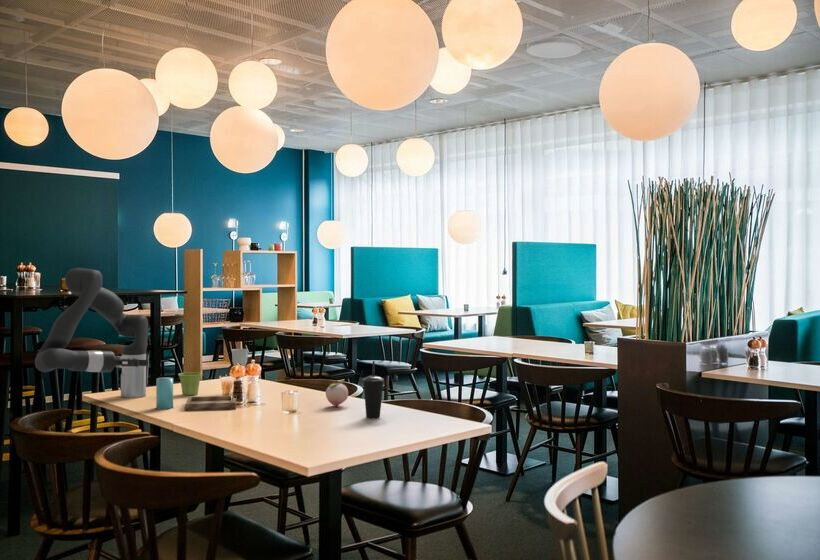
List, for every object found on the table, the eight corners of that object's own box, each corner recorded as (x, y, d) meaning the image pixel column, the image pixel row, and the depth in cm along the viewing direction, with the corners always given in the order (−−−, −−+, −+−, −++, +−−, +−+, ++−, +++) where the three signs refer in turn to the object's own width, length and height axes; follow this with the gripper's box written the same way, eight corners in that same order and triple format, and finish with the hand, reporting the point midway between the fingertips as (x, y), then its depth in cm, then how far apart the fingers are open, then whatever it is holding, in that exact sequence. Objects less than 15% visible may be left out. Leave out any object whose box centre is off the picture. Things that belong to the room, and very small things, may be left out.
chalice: (250, 390, 323) (250, 348, 323) (245, 393, 316) (245, 350, 316) (233, 390, 324) (234, 348, 324) (228, 392, 317) (228, 350, 317)
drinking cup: (360, 418, 263) (360, 362, 263) (364, 414, 271) (365, 359, 271) (381, 419, 262) (382, 362, 262) (385, 415, 270) (386, 360, 270)
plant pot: (194, 397, 305) (194, 375, 305) (173, 395, 308) (173, 374, 308) (206, 393, 314) (206, 372, 314) (186, 392, 317) (186, 371, 317)
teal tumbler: (155, 409, 277) (155, 379, 276) (157, 406, 282) (157, 377, 282) (172, 409, 278) (172, 379, 278) (173, 406, 284) (173, 377, 284)
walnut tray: (185, 410, 275) (185, 403, 275) (188, 403, 291) (188, 396, 291) (235, 409, 279) (235, 402, 279) (236, 402, 294) (236, 395, 294)
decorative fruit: (343, 409, 281) (343, 382, 281) (323, 408, 283) (323, 381, 283) (351, 405, 291) (351, 379, 290) (331, 404, 292) (331, 378, 292)
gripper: (107, 351, 258) (152, 352, 269) (90, 349, 268) (134, 351, 279) (105, 373, 257) (150, 373, 269) (88, 370, 267) (132, 371, 279)
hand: (142, 362), depth 274 cm, fingers open, 8 cm apart
